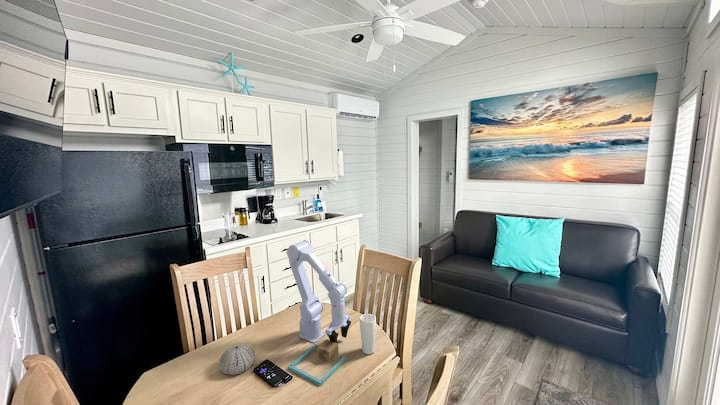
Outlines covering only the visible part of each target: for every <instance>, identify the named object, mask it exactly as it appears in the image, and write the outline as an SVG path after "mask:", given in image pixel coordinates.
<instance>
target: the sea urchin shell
mask: <svg viewBox="0 0 720 405" xmlns="http://www.w3.org/2000/svg"><path fill="white" fill-rule="evenodd" d="M255 359H256V351H255V350H254V348H253V347H251V345H249V344H242V343H236V344H233V345H232V346H230V347H228V348H227V349H226V350H225V351H224V352H223V353H222V355H221V356H220V357H219V364H218V365H219V369H220V371H221V373H223V374H225V375H229V376H230V375H231V376H235V375H238V374H242V373H243V372H246V371H248V369H249V368H251V366H252V365H253V364H254V362H255Z"/></svg>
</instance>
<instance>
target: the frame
mask: <svg viewBox="0 0 720 405" xmlns="http://www.w3.org/2000/svg"><path fill="white" fill-rule="evenodd" d="M317 349H318V344H315V343H314V344H313V345H312V346H311V347H310V348H309V349H307V350H306V351H305V352H303V354H301V355H300V356H299V357H298V358H296V359H295V360H294V361H293V362H292V363H290V364H289V365H288V366H287V369H288V370H289V371H291V372H293V373H295V374H296V375H299V376H300V377H302V378H304V379H306V380H308V381H310V382H312V383H314V384H316V385H318V386H320V387H321V386H322V385H324V383H326V382H327V381H328V380H329V378H331V376H332V375H333V374H334V373H335V372H336V371H337V370H338V369H339V368H341V366H342V365H343V364H344V363H345V362H346V361H347V356H343V357H341V359H339V361H338V362H336V364H334V366H332V368H331V369H329V370H328V372H326V373H325V374H324V376H323V377H321V378H319V377H317V376H315V375H312V374H310V373H308V372H306V371H304V370H302V369H300V368H299V367H296V366H297V365H299V364H300V363H301V362H302V361H304V359H306V358H307V357H309V355H310V354H312V353H313V352H314V351H315V350H317Z"/></svg>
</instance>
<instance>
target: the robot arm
mask: <svg viewBox="0 0 720 405" xmlns="http://www.w3.org/2000/svg"><path fill="white" fill-rule="evenodd" d="M286 256H287V258H288V263H289V266H290V270H291V273H292V275H293V278H294V280H295V284H296V286H297V289H298V292H299V294H300V298H301V302H300V304H299V311H300V319H299V335H298V337H299V338H301V339H303V340H305V341H308V342H311V343H314V344H315V343H316V342H318V341H319V340H320V339H321V338H323V336H325V335H327V337H328V340H330V341H333V342H335V343H338V337H339V334H341V337H342V338H346V339H347V336H348V333H349V332H348V331H349V329H350V326H351V324H352V321H351V320H350V319H351V315H350V314H349V313H346V312H345V311H346V310H345V309H346V308H345V306H346V305H345V301H346V300H345V296H346V294H347V293H348V292H347V287H346V285H345V284H344V283H343V282H340V281H339V280H337V279H336V277H335V275H333V272H331V271H330V270H329V269H325V267H324V265H323V264H322V263H321V261H320V260H319V258H318V257H317V255H316V254H315V252H314V246H312V245H311V242H310V241H309V240H307V239H303V240H302V241H300V242H296V243H293V244H291V245H289V246H288V248H287V249H286ZM303 262H307V263H308V265H310V267H311V268H312V269H313V270H314V271H315V272H316V273H317V274H318V280H319V282H321V284H322V285H323V286H324V288H325V289H326V291H327V292H328V293H327V297H328V299H329V301H330V307H331V309H330V310H331V311H330V312H331V322H330V324H329V325H328V327H327V329H326V330H325V332H323V331H322V321H321V316H322V313H323V311H324V305H323V303H322V301H321V300H320V297H319V296H317V295H314V293H313V289H312V287H311V283H310V281H309V278H308V276H307V273H306V272H307V271H306V270H305V267H304V264H303ZM339 328H340V333H339V332H336V330H338V329H339Z"/></svg>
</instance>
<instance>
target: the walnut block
mask: <svg viewBox="0 0 720 405" xmlns="http://www.w3.org/2000/svg"><path fill="white" fill-rule="evenodd" d="M339 353H340V352H339V343H338V342H337V343H335V342H333V341H330V339H329V338H328V339H327V338H326V339H325V340H324V341H323V342H322V343H321V344H319V346H318V345H317V358H319V359H321V360H324V361H326V362H328V363H330V362H332V361H333V360H334V359H335V358H336V357H337V356H338V355H339Z"/></svg>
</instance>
